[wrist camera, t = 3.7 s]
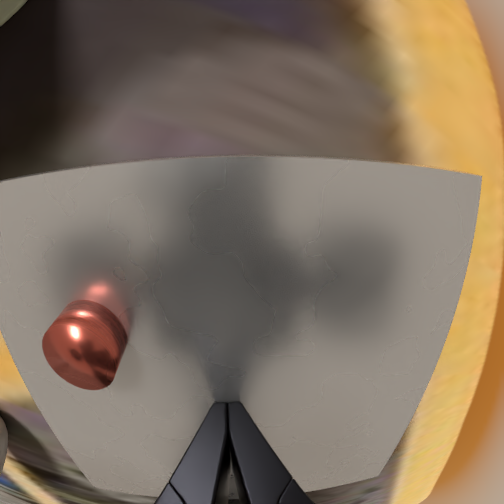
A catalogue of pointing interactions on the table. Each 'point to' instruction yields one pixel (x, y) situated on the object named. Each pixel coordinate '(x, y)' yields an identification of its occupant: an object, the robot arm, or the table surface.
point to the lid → (232, 305)
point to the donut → (3, 443)
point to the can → (9, 9)
